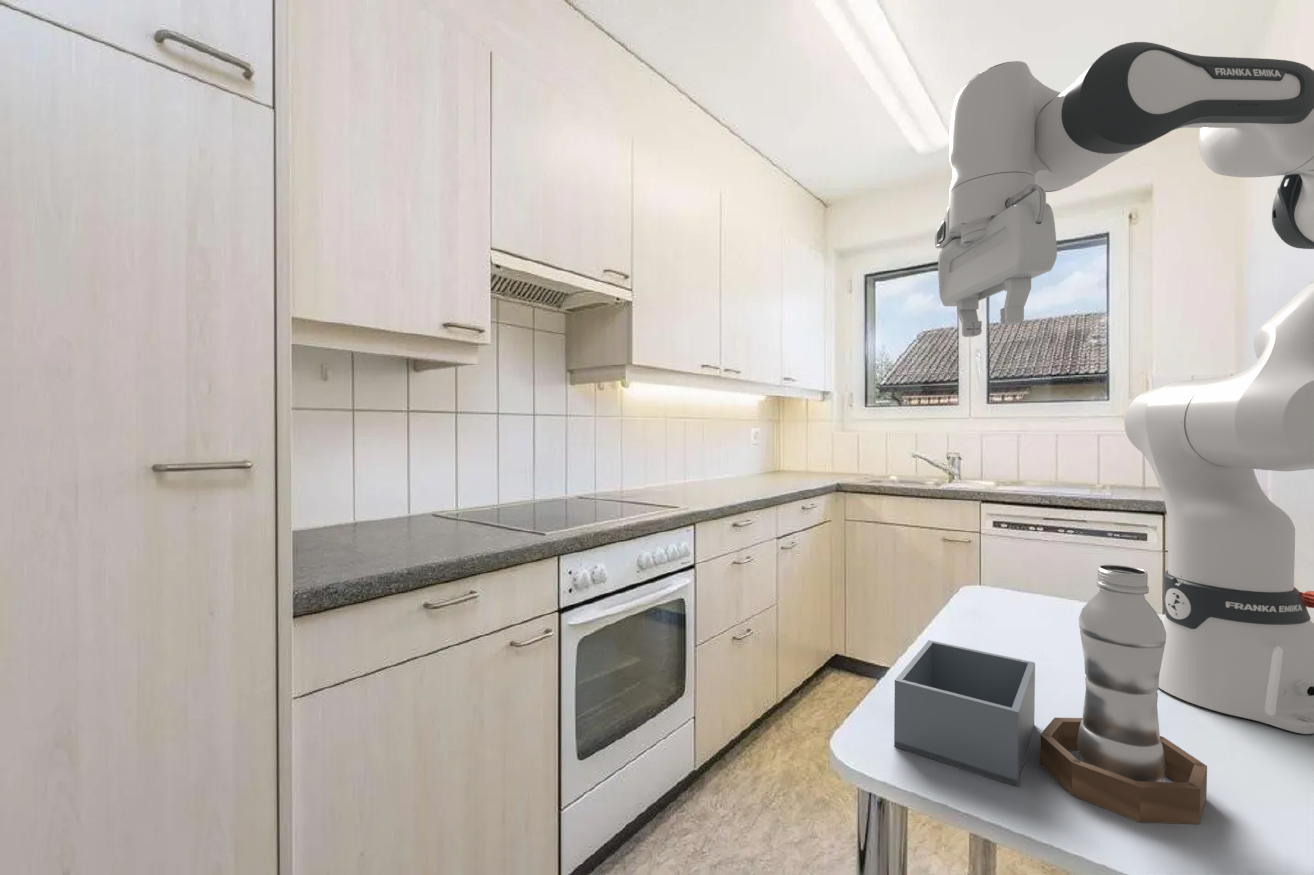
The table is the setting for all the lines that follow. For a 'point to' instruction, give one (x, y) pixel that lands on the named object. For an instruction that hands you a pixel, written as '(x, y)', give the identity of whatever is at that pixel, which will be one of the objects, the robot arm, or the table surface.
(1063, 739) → the collar
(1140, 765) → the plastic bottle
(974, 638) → the table surface
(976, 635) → the table surface
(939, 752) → the bin
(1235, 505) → the robot arm
